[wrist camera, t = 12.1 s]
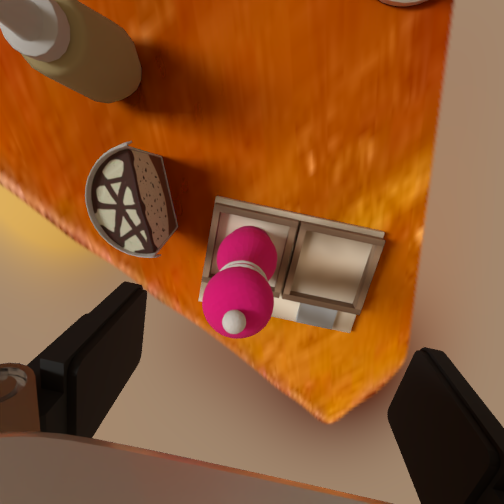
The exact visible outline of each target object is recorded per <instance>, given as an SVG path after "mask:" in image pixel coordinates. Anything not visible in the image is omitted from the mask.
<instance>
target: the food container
mask: <svg viewBox="0 0 504 504" xmlns="http://www.w3.org/2000/svg"><path fill="white" fill-rule="evenodd" d="M130 143H132V141H129V142H126V143H123V144H120V145H118V146H116V147H114V148H112V149H110V150H109V151H107V152H106V153H104V154H103V155H102V156H101V157H100V158H99V159H98V160H97V162H96V163H95V165H94V166H93V168H92V169H91V171H90V174H89V176H88V179H87V183H86V189H85V200H86V207H87V211H88V214H89V217H90V219H91V221H92V223H93V225H94V227H95V228H96V230H97V231H98V232H99V234H100V235H101V236H102V237H103V238H104V239H105V240H106V241H107V242H108V243H109V244H111V245H112V246H113V247H115V248H116V249H118V250H120V251H122V252H124V253H127V254H129V255H133V256H137V257H145V258H155V257H159V256H161V254H160V255H156V254H157V253H158V252H159V250H160V249H161V248H162V247H163V245H164V244H165V243H166V242H167V241H168V239H169V238H170V237H171V236H172V234H173V233H174V232H175V231H176V230H177V228H178V224H177V219H176V215H175V211H174V206H173V202H172V198H171V193H170V189H169V185H168V180H167V176H166V172H165V167H164V163H163V159H162V156H160V155H157V154H153V153H150V152H146V151H143V150H140V149H136V148H133V147H129V146H128V144H130Z"/></svg>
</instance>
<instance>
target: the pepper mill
mask: <svg viewBox="0 0 504 504" xmlns="http://www.w3.org/2000/svg"><path fill="white" fill-rule="evenodd" d="M276 265H277V251H276V248H275V246H274V244H273V242H272V241H271V239H270V237H269V236H268V234H267V233H266V232H265V231H263V230H262V229H260V228H258V227H255V226H243V227H240V228H238V229H236V230H234V231H233V232H232V233H230V234H229V235H228V236H226V237H225V238H224V240H223V241H222V242H221V244H220V246H219V249H218V252H217V267H218V269H219V272H218V273H217V274H215V275H214V276H213V277H212V278H211V279H210V281H209V282H208V284H207V286H206V288H205V290H204V293H203V299H202V306H203V312H204V315H205V317H206V320H207V321H208V323H209V324H210V325H211V327H212V328H213V329H214V330H215V331H217V332H218V333H220V334H221V335H224V336H226V337H230V338H246V337H249V336H252V335H255V334H256V333H258V332H259V331H261V330H262V329H263V328H264V327H265V326H266V324H267V323H268V321H269V320H270V318H271V315H272V312H273V307H274V296H273V292H272V289H271V286H270V285H269V283H268V281H269V280H270V279H271V277H272V276H273V274H274V272H275V270H276Z"/></svg>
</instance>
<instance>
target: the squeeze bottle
mask: <svg viewBox="0 0 504 504" xmlns="http://www.w3.org/2000/svg"><path fill="white" fill-rule="evenodd" d="M0 27H1V30H2V32H3V35H4V37H5V39H6V40H7V41H8V42H9V43H10V45H11V46H12V47H13V48H14V49H15V50H17V51H19V52H20V53H21V54H22V56H23V57H24V58H25V59H26V61H27V62H28V63H29V64H30V65H31V67H32V68H34V69H35V70H37V71H39V72H40V73H42V74H43V75H45V76H47V77H49V78H51V79H53V80H55V81H57V82H59V83H61V84H63V85H65V86H66V87H68V88H70V89H72V90H74V91H76V92H78V93H80V94H82V95H84V96H86V97H88V98H90V99H92V100H94V101H97V102H104V103H112V102H115V101H119V100H122V99H124V98H126V97H128V96H130V95H131V94H132V93H133V92H134V91H136V90H137V88H138V86H139V84H140V81H141V74H142V68H141V65H140V61H139V58H138V55H137V52H136V48H135V45H134V42H133V41H132V40H131V38H130V37H129V36H128V34H127V33H126V31H125V30H124V29H123V28H121V27H120V26H118V25H117V24H115V23H114V22H112V21H111V20H109V19H108V18H106V17H104V16H102V15H101V14H99V13H97V12H96V11H94V10H92V9H91V8H89V7H87V6H85V5H84V4H82V3H80V2H79V1H77V0H0Z"/></svg>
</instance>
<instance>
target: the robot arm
mask: <svg viewBox="0 0 504 504" xmlns="http://www.w3.org/2000/svg"><path fill="white" fill-rule="evenodd" d="M379 1H381V2H383V3H386V4H389V5H393V6H411V5H417V4H420V3H422V2H425V1H428V0H379ZM146 299H147V291H146V290H143V288H142V285H139V284H135V283H130V282H123V283H122V284H121V285H120V286H119V287H117V289H115V290H114V291H113V292H112V293H111V294H110V295H109V296H108V297H106V298H105V299H104V300H103V301H102V302H101V303H100V304H99V305H98V306H97V307H95V308H94V309H93V310H92V311H91V312H90V313H88V314H85V315H83V316H82V317H81V318H79V319H78V320H77V321H76V322H75V323H74V324H73V325H72V326H70V328H68V329H67V330H66V331H65V332H64V333H63V334H62V335H61V336H59V337H58V338H57V339H56V340H55V341H54V342H53V343H51V345H49V346H48V347H47V348H46V349H45V350H44V351H43V352H41V353H40V354H39V355H38V356H37V357H36V358H35V359H33V360H32V361H31V362H30V363H29V364H28V365H23V364H20V363H3V364H0V504H393V503H388V502H384V501H380V500H375V499H371V498H367V497H362V496H358V495H353V494H349V493H344V492H340V491H335V490H331V489H326V488H322V487H318V486H313V485H309V484H304V483H300V482H295V481H291V480H286V479H282V478H277V477H273V476H268V475H264V474H259V473H255V472H250V471H246V470H241V469H237V468H232V467H228V466H223V465H218V464H213V463H209V462H204V461H200V460H195V459H191V458H186V457H181V456H177V455H172V454H168V453H163V452H158V451H154V450H149V449H144V448H139V447H134V446H128V445H124V444H118V443H113V442H108V441H103V440H98V439H93V438H92V437H93V435H94V434H95V432H96V431H97V429H98V427H99V426H100V424H101V423H102V421H103V419H104V418H105V416H106V415H107V413H108V411H109V410H110V408H111V407H112V405H113V404H114V402H115V400H116V399H117V397H118V396H119V394H120V392H121V391H122V389H123V388H124V386H125V384H126V383H127V381H128V380H129V378H130V376H131V375H132V373H133V372H134V370H135V368H136V367H137V365H138V363H139V361H140V358H141V353H142V352H141V351H142V343H143V331H144V321H145V311H146ZM388 420H389V423H390V426H391V429H392V431H393V433H394V436H395V439H396V441H397V444H398V446H399V449H400V451H401V454H402V456H403V459H404V462H405V464H406V467H407V469H408V472H409V474H410V477H411V479H412V482H413V484H414V487H415V489H416V492H417V494H418V497H419V500H420V502H421V504H504V428H503V427H502V426H501V424H500V423H499V422H498V420H497V419H496V418H495V416H494V415H493V414H492V413H491V411H490V410H489V409H488V408H487V406H486V405H485V404H484V402H483V401H482V400H481V399H480V397H479V396H478V395H477V394H476V392H475V391H474V390H473V388H472V387H471V386H470V385H469V383H468V382H467V381H466V380H465V378H464V377H463V376H462V374H461V373H460V372H459V371H458V369H457V368H456V367H455V366H454V364H453V363H452V362H451V360H450V359H449V358H448V357H447V355H446V354H445V353H444V352H443V351H439V350H435V349H430V348H426V347H424V348H422V349H421V350H419V351H416V352H415V354H414V355H413V358H412V360H411V362H410V364H409V366H408V368H407V370H406V372H405V375H404V377H403V379H402V381H401V383H400V385H399V387H398V389H397V392H396V394H395V396H394V398H393V400H392V402H391V405H390V406H389V409H388Z"/></svg>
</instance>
